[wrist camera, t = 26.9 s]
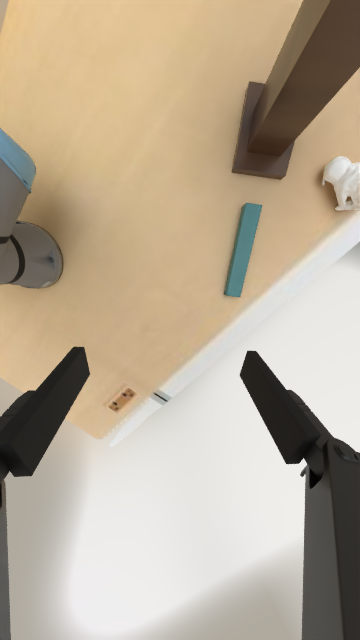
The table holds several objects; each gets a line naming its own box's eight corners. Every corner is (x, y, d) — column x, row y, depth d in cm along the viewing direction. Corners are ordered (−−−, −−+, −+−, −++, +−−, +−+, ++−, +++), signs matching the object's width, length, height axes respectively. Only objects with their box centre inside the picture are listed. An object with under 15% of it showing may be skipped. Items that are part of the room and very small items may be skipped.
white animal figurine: (386, 205, 29) (337, 161, 29) (345, 220, 38) (305, 187, 37) (420, 169, 28) (369, 122, 27) (369, 194, 36) (328, 158, 35)
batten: (237, 295, 44) (240, 297, 41) (224, 293, 44) (226, 295, 41) (257, 208, 37) (262, 204, 35) (242, 206, 37) (246, 202, 35)
